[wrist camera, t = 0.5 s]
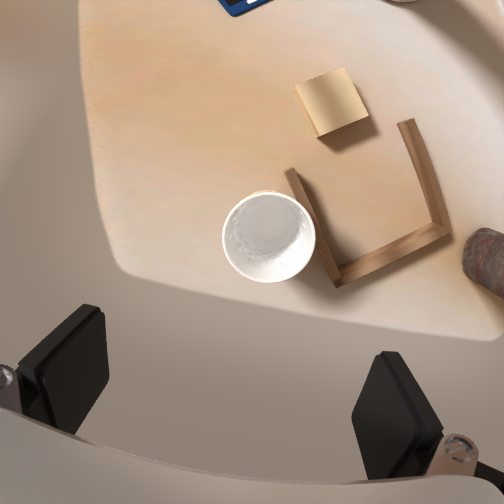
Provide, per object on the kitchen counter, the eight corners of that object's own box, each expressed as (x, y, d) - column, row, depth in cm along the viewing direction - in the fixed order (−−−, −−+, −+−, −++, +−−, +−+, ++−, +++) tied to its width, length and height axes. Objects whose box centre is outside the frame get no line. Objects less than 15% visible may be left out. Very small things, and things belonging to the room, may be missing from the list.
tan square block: (337, 73, 33) (343, 66, 30) (361, 119, 34) (368, 115, 31) (292, 92, 33) (294, 85, 31) (315, 138, 35) (320, 135, 32)
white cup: (315, 229, 37) (332, 252, 28) (257, 265, 39) (255, 299, 29) (278, 171, 36) (283, 174, 26) (219, 209, 37) (204, 225, 27)
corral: (403, 121, 33) (413, 118, 30) (440, 226, 36) (452, 231, 33) (283, 171, 36) (285, 172, 33) (331, 279, 39) (336, 288, 36)
